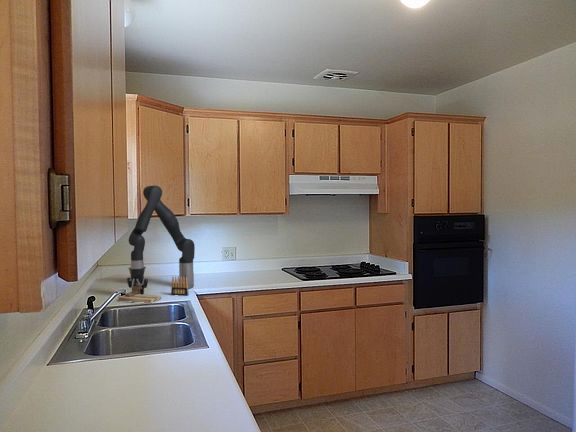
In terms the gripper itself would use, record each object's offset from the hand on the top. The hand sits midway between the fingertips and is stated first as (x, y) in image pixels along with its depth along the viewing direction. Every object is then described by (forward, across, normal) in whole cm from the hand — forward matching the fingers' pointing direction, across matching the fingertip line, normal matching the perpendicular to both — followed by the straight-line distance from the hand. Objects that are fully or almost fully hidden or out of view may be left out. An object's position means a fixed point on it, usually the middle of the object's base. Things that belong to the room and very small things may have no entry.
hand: (137, 294), depth 244 cm
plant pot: (+2, +25, -34) cm, 42 cm away
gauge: (+1, 0, +4) cm, 4 cm away
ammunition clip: (+2, -23, -11) cm, 25 cm away
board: (+1, -6, +7) cm, 10 cm away
